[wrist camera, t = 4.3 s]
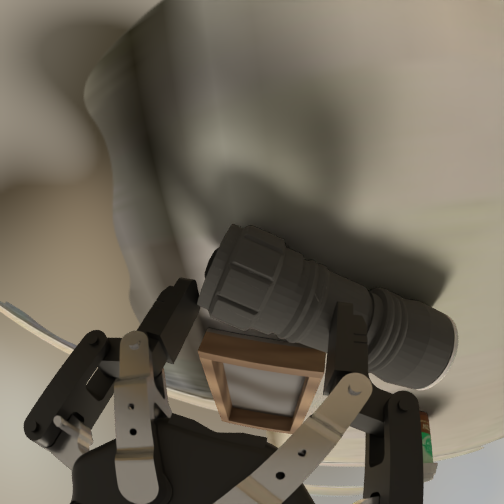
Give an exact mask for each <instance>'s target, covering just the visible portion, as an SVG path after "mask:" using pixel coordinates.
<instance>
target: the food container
mask: <svg viewBox="0 0 504 504" xmlns="http://www.w3.org/2000/svg"><path fill="white" fill-rule="evenodd" d="M419 412H420V421H421V432H422V446H423V474H424V482H426V481H429V480H432V479H433V476H434V474H435V473H436V469H437V463H433V456H432V444H431V435H430V427H429V419H428V415H427V413H425V412H422V411H419Z"/></svg>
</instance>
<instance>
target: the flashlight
mask: <svg viewBox="0 0 504 504" xmlns="http://www.w3.org/2000/svg"><path fill="white" fill-rule="evenodd" d="M337 301H340V302H348V303H353V315H361V316H363V318H364V320H365V322H366V324H367V339H368V343H367V345H368V373H372V374H374V375H375V376H377V377H378V378H380V379H381V380H383V381H384V382H387V383H391V384H395V385H399V386H403V387H407V388H411V389H415V390H426V389H429V388H431V387H433V386H434V385H436V384H437V383H438V382H439V381H441V380H442V379H443V377H444V376H445V375H446V374H447V372H448V371H449V369H450V368H451V366H452V364H453V361H454V359H455V356H456V352H457V348H458V332H457V328H456V325H455V323H454V321H453V320H452V319H451V318H450V317H449V316H447V315H446V314H444V313H441V312H440V311H438V310H436V309H434V308H432V307H430V306H428V305H426V304H424V303H422V302H420V301H417V300H409V299H402V298H401V297H400V296H399V295H397V294H394V293H393V292H390V291H387V290H386V289H384V288H375V289H372V290H370V291H368V290H367V288H365V287H364V286H362V285H360V284H357V283H355V282H353V281H351V280H349V279H346V278H344V277H342V276H340V275H338V274H336V273H333V272H331V271H329V270H328V269H327V268H326V267H325V266H324V265H323V264H317V263H316V262H315V261H314V260H308V261H307V260H305V259H304V257H303V255H302V254H300V253H298V252H296V251H294V250H291V249H289V248H287V247H286V245H285V242H284V240H283V239H282V238H279V237H277V236H275V235H273V234H270V233H268V232H266V231H264V230H261V229H259V228H257V227H255V226H252V225H250V226H247V227H245V228H242V227H239V226H237V225H235V224H232V225H231V227H230V228H229V230H228V231H227V233H226V235H225V237H224V239H223V241H222V243H221V245H220V247H219V248H217V249H216V250H215V251H214V253H213V254H212V256H211V258H210V260H209V262H208V265H207V268H206V271H205V281H204V284H203V286H202V289H201V292H200V295H199V298H198V303H197V305H199V306H201V307H203V308H205V309H207V310H208V311H209V314H210V317H212V318H214V319H216V320H219V321H221V322H223V323H226V324H228V325H230V326H233V327H235V328H238V329H240V330H242V331H246V330H248V329H250V328H252V329H254V330H257V331H259V332H262V333H264V334H267V335H269V334H271V333H274V334H276V335H277V337H278V338H279V339H286V340H287V341H288V342H291V343H296V342H298V343H301V344H303V345H306V346H309V347H312V348H314V349H317V350H320V351H323V352H326V353H327V352H328V340H329V331H330V327H331V322H332V317H333V313H334V310H335V306H336V303H337Z"/></svg>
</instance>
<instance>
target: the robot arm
mask: <svg viewBox="0 0 504 504" xmlns="http://www.w3.org/2000/svg"><path fill="white" fill-rule="evenodd" d="M198 298H199V293H198V288H197V283H196V281H195V280H193V279H187V278H179V279H178V281H177V282H176V284H175V285H174V287H173V286H169V287H167V288H166V289H165V290H164V291H162V292H161V294H160V295H159V297H158V298H157V301H155V303H154V304H153V307H151V309H150V311H149V312H148V314H147V315H146V317H145V318H144V320H143V321H142V323H141V325H140V326H139V328H138V329H137V331H131V332H129V333H127V334H126V335H124V337H123V338H107V337H106V335H105V334H104V333H103V332H102V331H100V330H93V331H91V332H89V333H87V334H86V335H85V336H84V338H83V339H82V340H81V342H80V343H79V344H78V345H77V347H76V348H75V349H74V351H73V352H72V353H71V355H70V356H69V357H68V359H67V360H66V361H65V363H64V364H63V365H62V367H61V368H60V369H59V371H58V372H57V374H56V375H55V376H54V378H53V379H52V381H51V382H50V384H49V385H48V386H47V388H46V389H45V391H44V392H43V394H42V395H41V397H40V398H39V399H38V401H37V402H36V404H35V405H34V407H33V408H32V410H31V412H30V413H29V415H28V416H27V418H26V420H25V422H24V432H25V434H26V436H27V437H28V438H29V439H30V440H32V441H33V442H35V443H37V444H38V445H39V446H41V447H43V448H44V449H46V450H48V451H50V452H51V453H52V454H53V455H54V456H55V457H56V458H58V459H59V460H60V461H61V462H62V463H63V464H64V465H66V466H67V467H68V468H69V469H71V470H72V482H73V495H72V500H71V503H70V504H315V503H314V501H313V500H312V498H311V496H310V495H309V493H308V491H307V489H306V488H305V486H304V484H303V482H304V481H305V480H306V479H307V477H308V476H309V475H310V474H311V473H312V472H313V471H314V470H315V469H316V468H317V467H318V465H319V464H320V463H321V462H322V461H323V460H324V458H325V457H326V456H327V455H328V454H329V453H330V451H331V450H332V449H333V448H334V446H335V445H336V444H337V443H338V441H339V440H340V439H341V437H342V436H343V434H344V432H345V431H346V430H347V428H348V427H349V426H351V427H353V428H356V429H359V430H361V431H364V432H366V450H365V477H364V491H363V499H361V500H358V501H356V502H354V503H353V504H423V483H424V474H423V446H422V432H421V421H420V412H419V404H418V400H417V398H416V397H415V396H414V395H413V394H412V393H410V392H408V391H398V392H396V393H394V394H391V393H389V392H386V391H383V390H381V389H379V388H377V387H376V386H375V385H373V383H372V382H371V380H370V378H369V375H368V345H367V343H368V339H367V324H366V322H365V320H364V318H363V316H361V315H353V303H348V302H340V301H337V303H336V306H335V310H334V313H333V317H332V322H331V327H330V331H329V340H328V352H327V363H326V373H325V382H324V391H323V395H327V396H328V397H327V398H326V399H325V401H324V402H323V403H322V404H321V405H320V406H319V408H318V409H317V410H316V411H315V412H314V413H313V414H312V415H311V416H309V417H308V418H307V419H306V420H305V421H304V422H303V424H302V425H301V426H300V427H299V428H298V429H297V430H296V431H295V432H294V433H293V434H292V435H291V436H290V437H289V438H288V440H287V441H286V442H285V443H284V444H283V445H282V446H281V447H280V448H279V449H278V448H277V447H275V446H274V445H272V444H270V443H268V442H267V438H266V437H261V436H255V435H250V434H246V433H217V432H214V431H212V430H210V429H208V428H207V427H205V426H203V425H202V424H200V423H198V422H196V421H195V420H192V419H189V418H186V417H183V416H180V415H177V414H174V413H172V411H171V408H170V406H169V403H168V397H167V389H166V382H165V373H164V368H163V367H164V365H165V363H166V362H168V363H171V364H174V362H175V360H176V358H177V356H178V354H179V352H180V350H181V348H182V346H183V344H184V342H185V339H186V337H187V335H188V333H189V331H190V329H191V327H192V325H193V323H194V321H195V319H196V317H197V315H198V313H199V310H200V306H199V305H197V303H198ZM97 367H98V369H97ZM96 369H97V371H96V372H95V373H94V371H95V370H96ZM93 373H94V375H93V376H92V374H93ZM91 376H92V378H91V379H90V377H91ZM89 379H90V380H89ZM88 380H89V382H88ZM87 382H88V384H87ZM86 384H87V385H86ZM113 394H114V410H115V412H114V413H115V431H116V439H114V440H112V441H110V442H107V443H105V444H103V445H101V446H99V447H97V448H95V449H93V450H90V451H89V446H90V445H92V444H93V439H92V433H91V429H92V427H93V426H94V424H95V422H96V421H97V419H98V418H99V416H100V414H101V413H102V411H103V410H104V408H105V406H106V405H107V403H108V402H109V400H110V398H111V397H112V395H113Z"/></svg>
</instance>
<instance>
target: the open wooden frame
mask: <svg viewBox="0 0 504 504" xmlns="http://www.w3.org/2000/svg"><path fill="white" fill-rule="evenodd" d="M198 353H199V356H200V360H201V363H202V366H203V369H204V372H205V375H206V378H207V381H208V384H209V387H210V389H211V392H212V395H213V398H214V401H215V403H216V406H217V409H218V412H219V414H220V417H221V419H222V421H224V422H228V423H233V424H237V425H242V426H247V427H252V428H257V429H262V430H268V431H275V432H281V433H288V434H293V433H294V432H295V431H296V430H297V429H298V428H299V427H300V426H301V425H302V423H303V420H304V418H305V416H306V414H307V412H308V409H309V407H310V405H311V403H312V400H313V398H314V396H315V393H316V391H317V389H318V386H319V384H320V382H321V379H322V377H323V374H324V369H325V357H326V352H323V351H320V350H317V349H314V348H312V347H309V346H306V345H303V344H301V343H291V342H287V341H280V340H273V339H267V338H260V337H254V336H248V335H243V334H237V333H232V332H226V331H221V330H216V329H211V328H207V331H206V333H205V335H204V338H203V340H202V342H201V345H200V347H199V349H198Z"/></svg>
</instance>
